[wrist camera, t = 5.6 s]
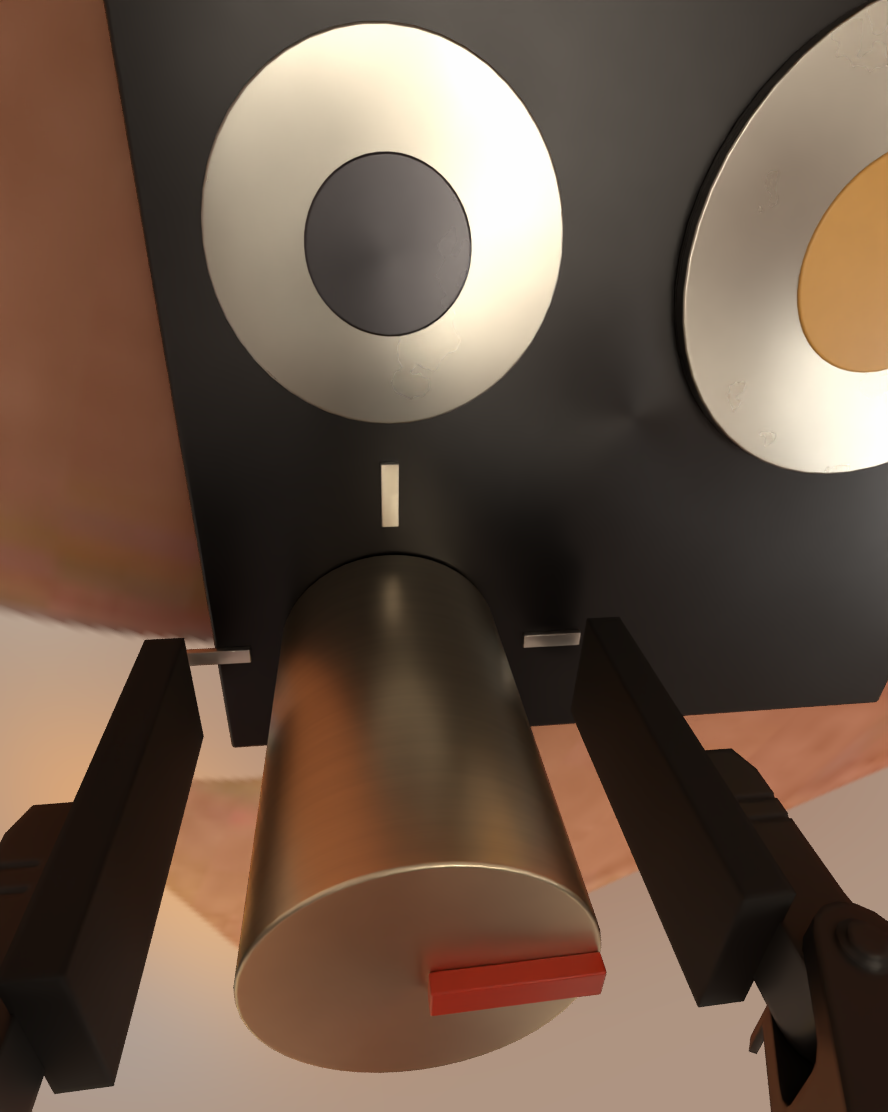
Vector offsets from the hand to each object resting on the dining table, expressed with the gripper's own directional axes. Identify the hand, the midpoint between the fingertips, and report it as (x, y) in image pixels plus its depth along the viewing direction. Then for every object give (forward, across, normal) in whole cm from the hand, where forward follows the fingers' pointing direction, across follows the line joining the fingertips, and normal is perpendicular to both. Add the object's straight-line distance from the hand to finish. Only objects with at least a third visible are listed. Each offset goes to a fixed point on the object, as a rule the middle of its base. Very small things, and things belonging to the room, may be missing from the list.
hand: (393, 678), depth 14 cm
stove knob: (+1, 0, 0) cm, 1 cm away
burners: (+1, +5, +9) cm, 10 cm away
